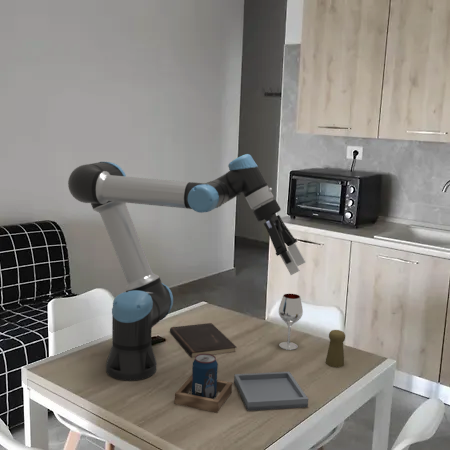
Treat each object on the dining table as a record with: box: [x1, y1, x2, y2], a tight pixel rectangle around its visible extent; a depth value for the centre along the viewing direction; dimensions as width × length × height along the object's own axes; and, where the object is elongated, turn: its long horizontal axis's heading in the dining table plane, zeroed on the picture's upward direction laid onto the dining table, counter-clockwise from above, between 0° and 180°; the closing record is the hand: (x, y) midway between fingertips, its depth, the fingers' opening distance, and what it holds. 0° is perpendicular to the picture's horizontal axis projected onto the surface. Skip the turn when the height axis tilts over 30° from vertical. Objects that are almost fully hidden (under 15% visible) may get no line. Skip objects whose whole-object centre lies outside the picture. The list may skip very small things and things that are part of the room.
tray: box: [233, 371, 309, 412], centre depth 168 cm, size 17×17×2 cm
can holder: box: [174, 374, 233, 414], centre depth 164 cm, size 12×12×3 cm
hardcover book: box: [169, 322, 237, 358], centre depth 204 cm, size 16×23×2 cm
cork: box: [324, 329, 346, 368], centre depth 190 cm, size 6×6×11 cm
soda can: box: [191, 354, 219, 399], centre depth 163 cm, size 7×7×12 cm
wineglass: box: [278, 293, 304, 351], centre depth 201 cm, size 8×8×18 cm
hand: (298, 268), depth 172 cm, fingers open, 13 cm apart
